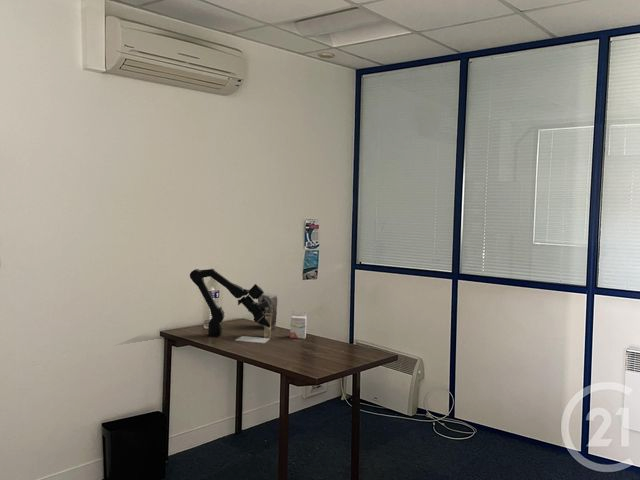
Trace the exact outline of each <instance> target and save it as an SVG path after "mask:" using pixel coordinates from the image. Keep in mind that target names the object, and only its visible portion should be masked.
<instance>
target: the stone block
mask: <svg viewBox="0 0 640 480" xmlns="http://www.w3.org/2000/svg"><path fill="white" fill-rule="evenodd" d="M263 299H265V300H268V302H269V304H270V306H269V307H266V308H265V309H266V310H264V312H265V311H266V313H271V330H275V328H276V325H277V314H278V312H277V311H278V296H277V295H276V294H272V293H269V292H264V293H263V294H262V295H261V296H260V297H259V298H258V299H257V303H258V304H259V303H261V302H262V300H263ZM257 324H258V325H257V326H258V327H260V328H263V329H264V325H262V324H259V323H257Z"/></svg>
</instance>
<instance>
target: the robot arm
mask: <svg viewBox="0 0 640 480" xmlns="http://www.w3.org/2000/svg"><path fill="white" fill-rule="evenodd" d="M189 278H190V280H191V281H192V282H193V283H194V284H195V286H197V288H198V289H199V291H200V293H201V295H202V297H203V299H204V302H206V304H207V306H208V307H209V311H210V314H211V319H210V320H209V322H208V325H207V328H208V329H207V330H208V331H207V332H208V333H207V334H206V337H214V338H219V337H222V335H223V333H222V332H223V331H222V330H223V328H222V324H220V323H222V322H223V321H224V319H225V313H226V312H225V311H224V310H223V308H222V306H218V305H217V303H216V301H215V299H214V298H213V296H212V294H211V292H210V290H209V289H208V286H207V285H206V283H205V279H204V278H212V280H214V281H216V282H217V283H219V284H220V285H222V287H224V288H226V289H227V290H228V292H229V293H230V294H231V295H232V297H234V298H235V299H237V306H239V305H241V304H242V305H243V306H244V307H245V308H246V310H247V311H248V313H251V314H252V317H253V321H254V322H255V323H256V324H258V323H259V324H262V325H264V326H267V327H270V324H269V323H268V321H267V320H266V319H265V313H266V311H265V312H264V310H266V309H265V308H266V307H269V306H270V304H269V302H268V300H265V299H263V300H262V302H261V303H259V304H258V301H255V300H258V298H259V297H260V296H261V295H262V294H263V293H265V291H264V290H263V289H262V288H261V287H260V286H259V285H257V284H256V283H255V284H254V285H253V286H252V287H251V288H250V289H246V288H243V287H242V286H240V285H238V284H235V283H233V282H231V281H230V280H229V279H227V278H226V277H224V276H223V275H222V274H220V273H219V272H218V271H216V270H215V268H209V269H198V268H195V269H193V270H191V271H190V273H189Z"/></svg>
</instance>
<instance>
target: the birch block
mask: <svg viewBox="0 0 640 480" xmlns="http://www.w3.org/2000/svg"><path fill="white" fill-rule="evenodd" d="M265 319H266V320H267V321H268V323H269V324H270V327H267V326H264V328H263V338H269V339H271V336H272V329H271V313H265Z"/></svg>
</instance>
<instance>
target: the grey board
mask: <svg viewBox="0 0 640 480" xmlns="http://www.w3.org/2000/svg"><path fill="white" fill-rule="evenodd" d="M270 340H271V338H264V337H259V336H257V337H256V336H255V337H254V336H247V335H246V336H245V335H242V336H239V337H237V338H236V339H235V342H244V343H246V342H247V343H252V344H253V343H255V344H265V343H267V342H268V341H270Z"/></svg>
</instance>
